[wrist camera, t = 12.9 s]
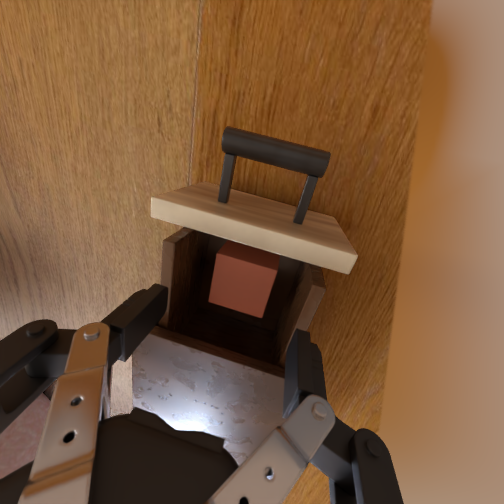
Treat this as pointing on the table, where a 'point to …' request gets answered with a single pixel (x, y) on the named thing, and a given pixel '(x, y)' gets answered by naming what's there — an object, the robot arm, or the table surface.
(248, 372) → the cabinet
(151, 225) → the table surface
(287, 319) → the drawer
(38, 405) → the plant pot
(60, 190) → the table surface
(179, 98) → the table surface
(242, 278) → the block
